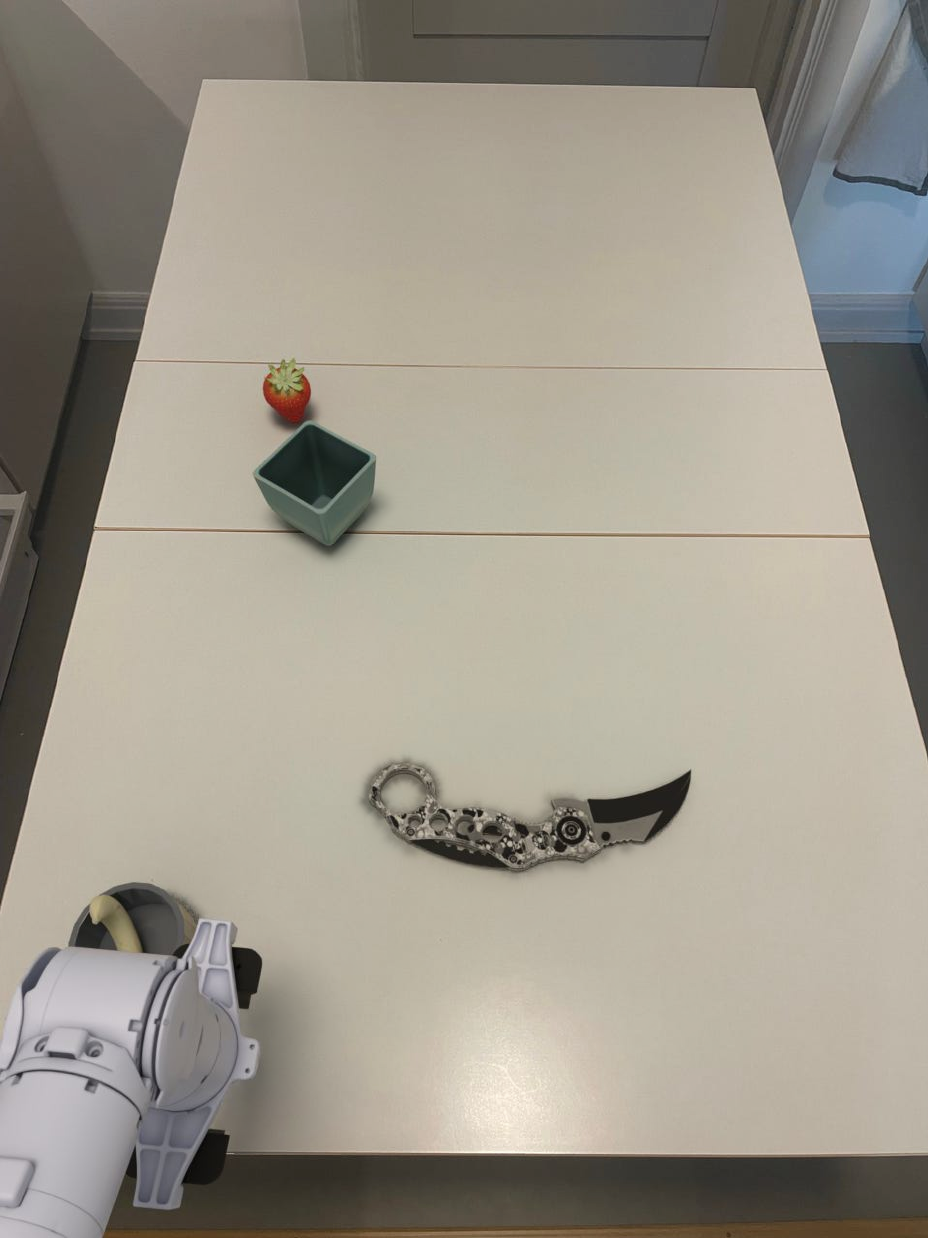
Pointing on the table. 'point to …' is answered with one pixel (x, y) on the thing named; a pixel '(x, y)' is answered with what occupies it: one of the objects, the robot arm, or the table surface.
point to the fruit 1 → (116, 923)
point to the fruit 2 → (287, 390)
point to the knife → (523, 845)
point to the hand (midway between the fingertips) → (221, 1066)
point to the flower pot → (318, 481)
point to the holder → (140, 921)
